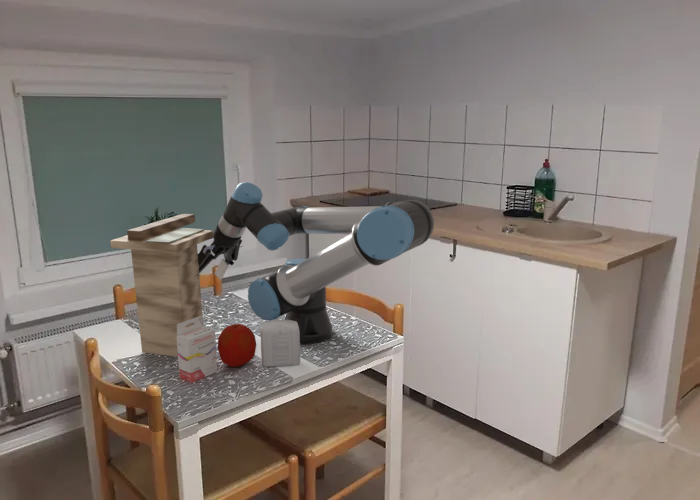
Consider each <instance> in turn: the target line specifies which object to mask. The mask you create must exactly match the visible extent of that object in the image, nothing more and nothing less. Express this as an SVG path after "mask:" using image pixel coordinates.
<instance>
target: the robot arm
mask: <svg viewBox="0 0 700 500" xmlns="http://www.w3.org/2000/svg"><path fill="white" fill-rule="evenodd" d="M262 199H263V192H262V189H261V188H260V187H258V185H256V184H254V183H252V182H247V181H243V182H240V183H238V184H237V186H235V189H234V191H233V193H231V195H230V199H229V200H228V203H227V205H226V207H225V209H224V212H223V213H222V216H220V219H219V221H218V224H217V225H216V227H215V229H214V230H213V237H214V238H213V241H212V243H211V244H210V245H208V246H207V244H203V246H202V247H201V250H200V251H199V252H198V265H199V277H200V276H201V273H202V271H204V269H206V267H207V266H208V265H209V264H210V263H211V262H212V261H215V260H216V259H217V258H218V257H220V256H221V255H223V257H224V258H222V259H221V260H220V262H219V264H218V267H216V269H215V271H214V275H215V276H216V277H217V278H218V280H222V279H223V277H224V275H225V273H226V271H227V270H228V268H229V266H233V265H234V264H235V262H236V261H237V260H238V257H239V252H240V247H241V244H242V243H243V240H242V239H241V238H242V236H243V235H244V233H245V231H246V229H247V230H248V231H249V232H250V233H251V234H252V235H253V236H254V237H255V238H256V239H257V241H258V242H259V243H260V244H261V245H262V246H264V247H265V248H266V249H267V250H268V251H277V250H278V249H279V248H281V247H283V246H284V245H285V244H286V243H287V241H288V240H289V237H291V236H294V235H310V234H312V235H345V236H344V237H342V238H340V239H339V240H337V241H335V242H334V243H332V244H330V245H328V246H327V247H324V248H323V249H321V250H319V251H318V252H316V253H315V254H313V255H311V256H310V257H308V258H293V259H292V258H290V259H287V260H286V261H285V263H284V265H283V266H281V267H280V268H277V269H276V270H274V271H273V272H271V273H268V274H267V275H265V276H263V277H258V278H256V279H255V280H253V281H252V282H251V283H250V285H249V286H248V288H247V300H248V304H249V306H250V309H251V311H253V313H254V314H255V316H256V317H258V318H260V319H261V320H263V321H264V322H268V321H272V320H278V319H279V318H280V317H282V316H284V315H285V317H284V320H292V321H296V322H297V324H298V326H299V331H300V345H309V344H310V345H311V344H312V345H313V344H318V343H321V342H325V341H327V340H328V339H330V338H331V337H332V336H333V325H332V322H331V320H330V317H329V313H328V311H327V295H326V294H327V290H326V287H327V286H330V285H331V284H333V283H335V282H337V281H339V280H341V279H342V278H344V277H346V276H349V275H350V274H352V273H355V272H356V271H358V270H359V269H361V268H364V267H365V266H367V265H372V266H375V267H376V266H377V267H378V266H381V265H382V264H384V263H387V262H389V261H390V260H393V259H396V258H398V257H399V256H401V255H402V254H405V253H407V252H408V251H410V250H412V249H415V248H417V247H420V246H421V245H424V244H425V243H426V242H427V241H429V239H430V238H431V236H432V234H433V232H434V228H435V220H434V219H435V218H434V216H433V212H432V211H431V209H430V208H429V206H427V205H426V204H425V203H423V202H422V201H419V200H416V199H406V200H401V201H389V202H386V204H385V205H381V206H380V205H379V206H373V205H372V206H370V205H369V206H367V205H366V206H326V207H325V206H321V207H318V206H317V207H310V206H307V205H298V206H294V207H292V208H286V209H282V210H278V211H274V212H270V211H269V210H268V209H267V208H266V206H265V205H264V204H263V203H261V202H262ZM234 261H235V262H234Z"/></svg>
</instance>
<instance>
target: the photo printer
mask: <svg viewBox="0 0 700 500" xmlns="http://www.w3.org/2000/svg"><path fill="white" fill-rule="evenodd" d="M260 352H261V354H260V355H261V366H262V367H284V366H289V367H290V366H297V365H298V366H299V365H300V363H301V344H300V331H299V326H298V324H297V322H296V321H292V320H285V319H275V320H270V321H264V322H263V323H262V326H261V328H260Z"/></svg>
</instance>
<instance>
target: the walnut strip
mask: <svg viewBox="0 0 700 500" xmlns="http://www.w3.org/2000/svg"><path fill="white" fill-rule="evenodd" d="M194 223H196V216H195V213H181V214H178V215H175V216H171V217H168V218H164V219H161V220H157V221H154V222H151V223H148V224H144V225H141V226H138V227H133V228H130V229H127V230H126V232H127V233H126V234H127V235H128V240H140V241H141V240H144V239H147V238H150V237H153V236H156V235H159V234H162V233H165V232H168V231H171V230H174V229H181V228H184V227H185V226H189V225H191V224H194Z"/></svg>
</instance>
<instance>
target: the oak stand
mask: <svg viewBox="0 0 700 500" xmlns="http://www.w3.org/2000/svg"><path fill="white" fill-rule="evenodd" d="M213 233H214V230H209V229H207V230H206V229H203V228H189V227H187V228H186V227H180V228H177V229H174V230H171V231H168V232H165V233H162V234H159V235H156V236H153V237H150V238H147V239H144V240H141V241H140V240H128V235H124V236H121V237H116V238H114V239H111V240H110V248H111V249H122V250H130V251H131V261H132V270H133V271H132V272H133V280H134V281H133V282H134V289H135V291H134V292H135V298H136V299H135V300H136V307H137V318H138V326H139V337H140V345H141V353H145V354H155V355H162V356H169V357H175V356H176V357H177V358H178V350H177V324H179V323H182V322H185V321H187V320H190V319H193V318H196V317H199V316H203V305H202V294H201V293H202V291H201V281H200V280H201V279H200V277H199V274H200V273H199V265H198V254H199V252H198V245H199V244H201V243H203V242H206V241H209V240H210V239H214V237H213ZM203 317H204V316H203ZM192 325H194V323H189V324H188V325H186V327H189V326H192Z"/></svg>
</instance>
